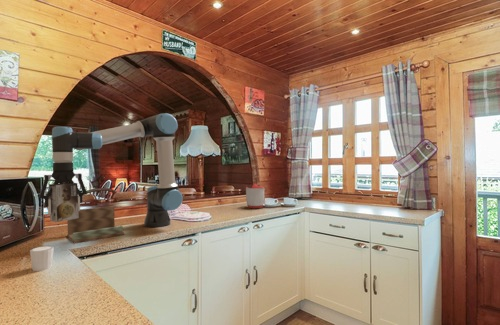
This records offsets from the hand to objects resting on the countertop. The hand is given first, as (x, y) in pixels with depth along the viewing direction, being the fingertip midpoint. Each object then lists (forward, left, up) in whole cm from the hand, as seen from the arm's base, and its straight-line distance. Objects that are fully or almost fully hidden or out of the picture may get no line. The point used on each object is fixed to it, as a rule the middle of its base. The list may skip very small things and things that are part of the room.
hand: (64, 212), depth 123 cm
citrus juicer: (-135, -19, -16) cm, 137 cm away
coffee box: (0, 0, -4) cm, 4 cm away
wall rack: (-16, -13, -16) cm, 26 cm away
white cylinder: (+10, +23, -16) cm, 30 cm away
